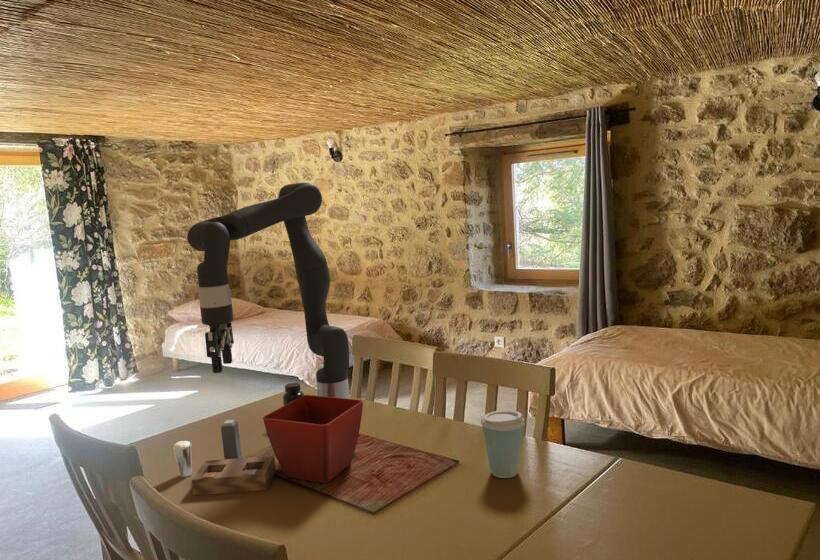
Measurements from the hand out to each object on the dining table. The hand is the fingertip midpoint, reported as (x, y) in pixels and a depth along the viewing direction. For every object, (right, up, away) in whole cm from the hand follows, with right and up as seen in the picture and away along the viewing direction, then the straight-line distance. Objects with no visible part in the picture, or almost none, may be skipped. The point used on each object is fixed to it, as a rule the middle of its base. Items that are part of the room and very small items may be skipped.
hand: (223, 367), depth 151 cm
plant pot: (+23, -28, +7) cm, 37 cm away
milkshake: (-13, -30, +10) cm, 34 cm away
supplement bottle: (+9, -24, +46) cm, 53 cm away
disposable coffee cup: (+70, -26, -1) cm, 75 cm away
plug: (-2, -29, +16) cm, 33 cm away
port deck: (+2, -30, +4) cm, 30 cm away
